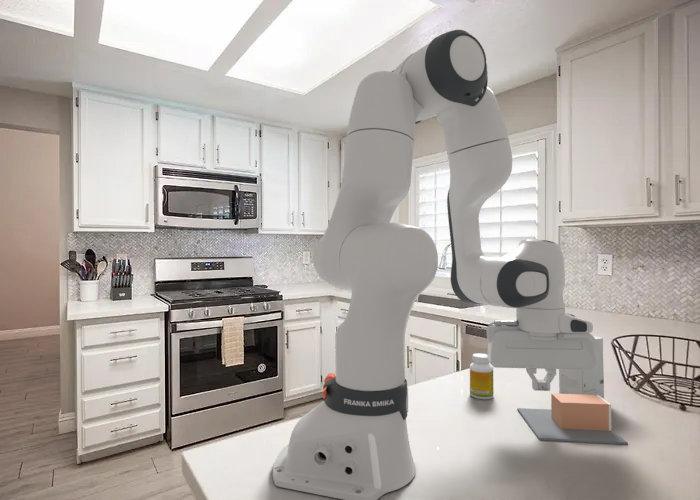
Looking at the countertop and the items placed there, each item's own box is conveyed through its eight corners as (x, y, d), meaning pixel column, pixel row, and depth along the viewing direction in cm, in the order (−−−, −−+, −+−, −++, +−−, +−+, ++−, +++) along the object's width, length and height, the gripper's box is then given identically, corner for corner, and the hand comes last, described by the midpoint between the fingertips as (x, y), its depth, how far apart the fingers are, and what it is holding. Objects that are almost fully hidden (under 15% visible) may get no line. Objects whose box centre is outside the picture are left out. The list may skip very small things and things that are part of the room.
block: (560, 402, 78) (611, 404, 77) (551, 393, 83) (598, 394, 82) (561, 428, 78) (611, 430, 77) (551, 417, 83) (598, 419, 82)
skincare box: (582, 409, 88) (582, 340, 88) (557, 400, 94) (556, 335, 94) (605, 402, 92) (605, 336, 92) (579, 393, 97) (579, 332, 97)
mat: (539, 440, 74) (539, 437, 74) (517, 410, 88) (517, 408, 88) (627, 444, 72) (627, 442, 72) (590, 412, 86) (590, 411, 86)
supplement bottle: (495, 400, 93) (494, 358, 93) (470, 399, 94) (470, 357, 94) (491, 392, 99) (491, 352, 99) (468, 391, 100) (468, 352, 100)
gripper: (490, 323, 79) (490, 393, 79) (601, 324, 76) (602, 397, 76) (483, 317, 85) (484, 383, 85) (586, 318, 83) (587, 385, 83)
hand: (541, 389), depth 81 cm, fingers closed
